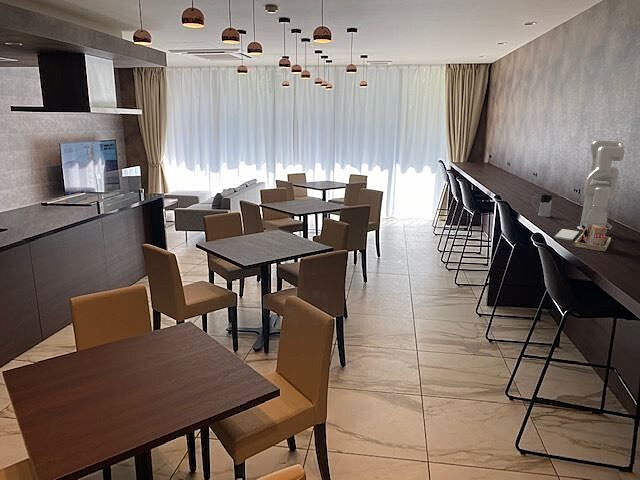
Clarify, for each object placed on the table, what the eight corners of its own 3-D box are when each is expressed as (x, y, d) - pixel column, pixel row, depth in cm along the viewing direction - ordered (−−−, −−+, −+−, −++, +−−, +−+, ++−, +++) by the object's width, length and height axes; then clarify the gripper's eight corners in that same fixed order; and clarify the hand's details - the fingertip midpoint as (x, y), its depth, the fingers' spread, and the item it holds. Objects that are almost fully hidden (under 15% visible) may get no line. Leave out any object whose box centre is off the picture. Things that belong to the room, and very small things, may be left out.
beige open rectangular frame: (581, 237, 312) (582, 233, 311) (610, 241, 303) (611, 237, 302) (573, 246, 289) (574, 242, 288) (604, 251, 280) (605, 247, 279)
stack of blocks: (581, 238, 307) (584, 219, 304) (592, 239, 306) (596, 220, 303) (591, 247, 287) (595, 226, 284) (603, 248, 286) (607, 227, 282)
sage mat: (562, 230, 328) (562, 228, 328) (578, 232, 323) (579, 231, 322) (554, 237, 307) (554, 236, 307) (572, 240, 302) (572, 239, 302)
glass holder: (549, 217, 369) (552, 197, 365) (528, 214, 377) (531, 194, 373) (551, 215, 376) (554, 195, 373) (531, 212, 384) (534, 193, 380)
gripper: (616, 210, 289) (611, 239, 293) (583, 205, 298) (578, 234, 303) (615, 211, 283) (609, 241, 287) (581, 207, 292) (576, 236, 297)
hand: (593, 237), depth 295 cm, fingers closed on stack of blocks, 8 cm apart
